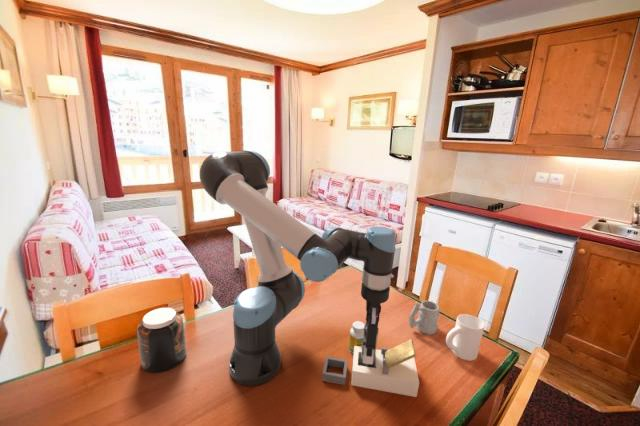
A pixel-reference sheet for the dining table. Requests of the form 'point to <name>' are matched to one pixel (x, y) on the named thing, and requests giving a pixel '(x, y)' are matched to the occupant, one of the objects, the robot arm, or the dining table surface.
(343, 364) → the stand collar
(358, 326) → the supplement bottle
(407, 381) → the socket block
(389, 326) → the dining table surface
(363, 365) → the steel pin
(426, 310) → the mug
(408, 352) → the brass flap
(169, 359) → the jar
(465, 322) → the mug
